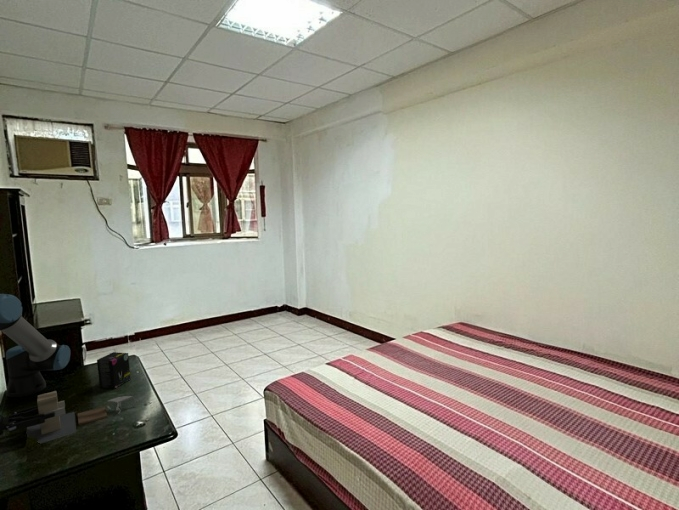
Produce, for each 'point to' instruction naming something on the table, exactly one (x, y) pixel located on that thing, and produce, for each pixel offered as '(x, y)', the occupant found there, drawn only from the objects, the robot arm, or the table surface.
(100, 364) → the tampon box
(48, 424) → the birch block
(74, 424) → the tile
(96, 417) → the walnut pad
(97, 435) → the table surface
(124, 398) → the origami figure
